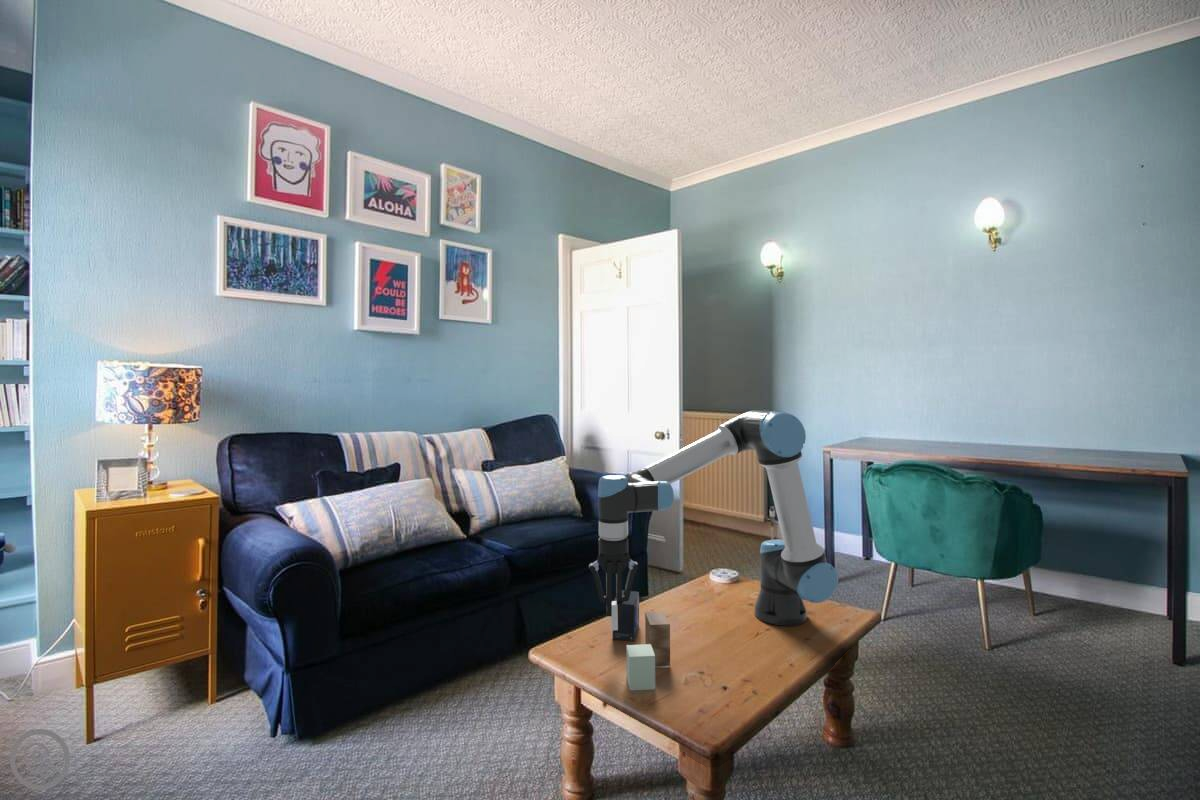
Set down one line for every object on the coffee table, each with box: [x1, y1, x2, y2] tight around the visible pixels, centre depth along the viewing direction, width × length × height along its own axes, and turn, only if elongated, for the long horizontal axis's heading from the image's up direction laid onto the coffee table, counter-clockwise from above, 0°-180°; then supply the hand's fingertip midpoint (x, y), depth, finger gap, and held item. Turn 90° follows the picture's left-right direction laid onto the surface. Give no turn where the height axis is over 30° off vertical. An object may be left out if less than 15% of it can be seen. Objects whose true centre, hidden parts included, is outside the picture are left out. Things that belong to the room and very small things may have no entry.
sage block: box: [625, 643, 656, 691], centre depth 139 cm, size 6×6×8 cm
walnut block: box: [644, 611, 671, 669], centre depth 150 cm, size 5×8×11 cm, turn 4°
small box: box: [612, 589, 640, 642], centre depth 167 cm, size 11×6×10 cm, turn 168°
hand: (614, 628), depth 149 cm, fingers closed
